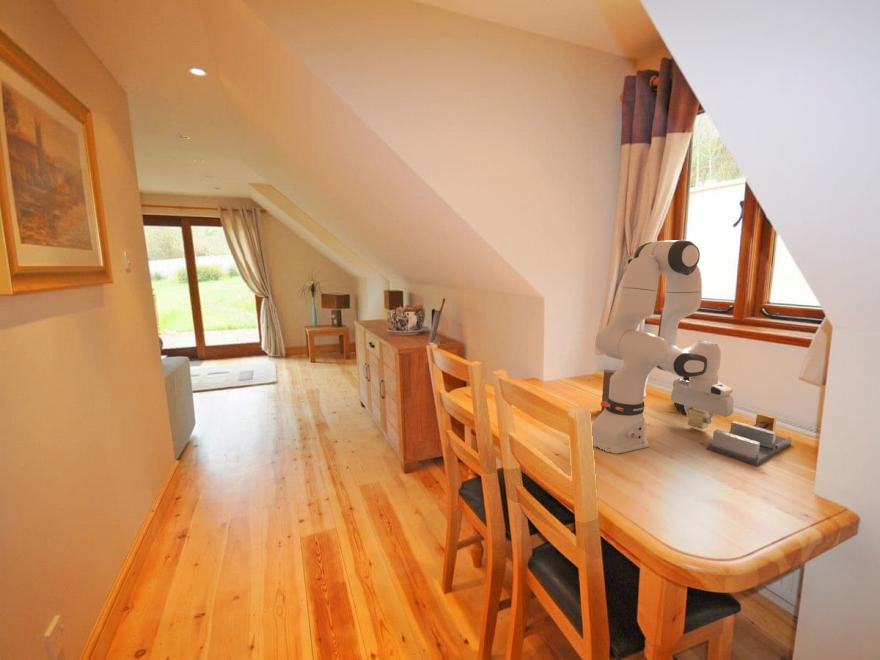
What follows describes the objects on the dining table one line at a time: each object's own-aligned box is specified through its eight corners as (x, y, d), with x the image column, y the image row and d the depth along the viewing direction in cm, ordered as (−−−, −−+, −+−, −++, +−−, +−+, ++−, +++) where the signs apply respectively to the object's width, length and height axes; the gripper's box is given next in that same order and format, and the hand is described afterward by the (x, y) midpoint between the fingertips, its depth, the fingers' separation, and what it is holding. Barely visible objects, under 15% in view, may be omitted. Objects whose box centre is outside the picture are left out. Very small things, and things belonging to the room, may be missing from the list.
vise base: (756, 466, 124) (759, 446, 123) (706, 449, 136) (708, 430, 135) (790, 444, 139) (793, 426, 138) (743, 430, 151) (745, 413, 150)
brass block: (702, 429, 148) (703, 413, 147) (687, 424, 152) (689, 409, 151) (707, 427, 150) (709, 411, 149) (693, 422, 154) (695, 407, 153)
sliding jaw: (771, 448, 132) (774, 428, 131) (729, 435, 142) (731, 417, 141) (786, 439, 139) (789, 420, 138) (745, 427, 149) (747, 410, 148)
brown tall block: (624, 413, 168) (628, 371, 165) (624, 417, 164) (628, 374, 161) (601, 410, 172) (604, 369, 169) (601, 413, 168) (603, 371, 165)
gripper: (669, 378, 156) (665, 413, 158) (729, 393, 138) (724, 431, 141) (678, 376, 159) (674, 410, 161) (738, 390, 142) (732, 428, 144)
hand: (698, 420), depth 151 cm, fingers closed on brass block, 5 cm apart
